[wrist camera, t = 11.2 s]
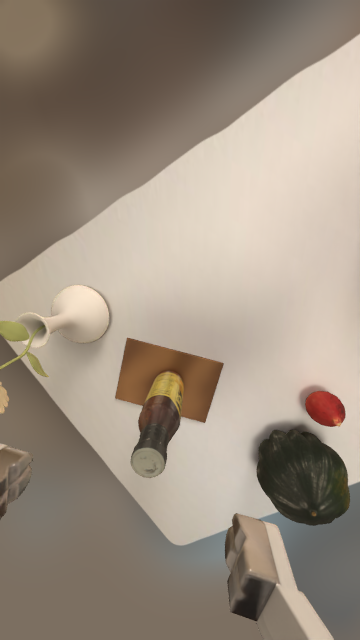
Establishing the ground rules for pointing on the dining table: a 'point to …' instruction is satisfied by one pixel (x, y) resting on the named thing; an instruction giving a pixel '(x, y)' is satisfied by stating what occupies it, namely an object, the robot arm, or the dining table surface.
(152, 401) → the sauce bottle
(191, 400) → the cork mat
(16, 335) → the flower in vase
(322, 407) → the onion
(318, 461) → the squash
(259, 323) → the dining table surface
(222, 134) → the dining table surface
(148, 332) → the dining table surface
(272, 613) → the robot arm
